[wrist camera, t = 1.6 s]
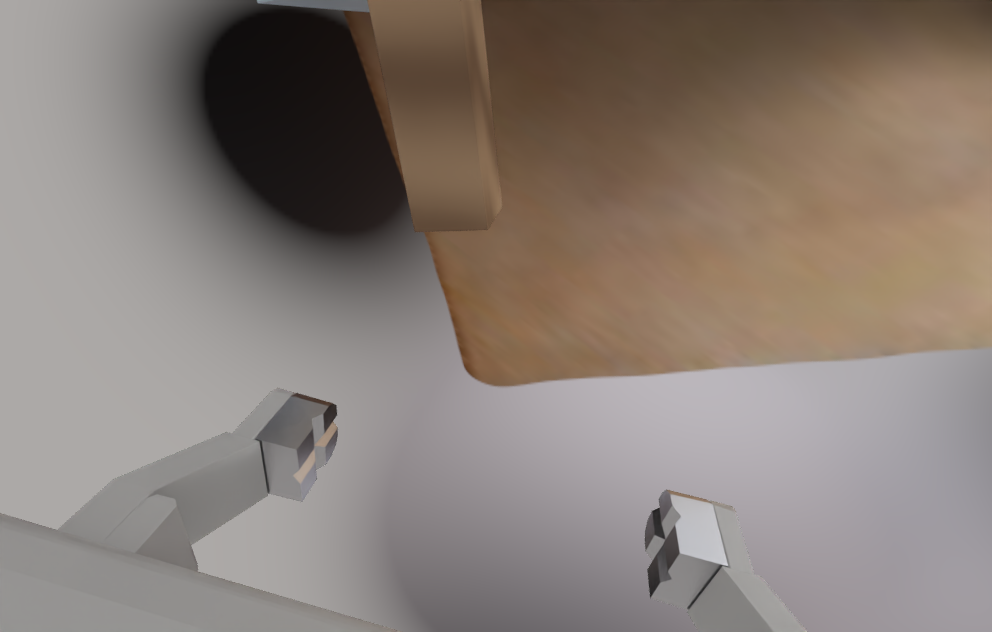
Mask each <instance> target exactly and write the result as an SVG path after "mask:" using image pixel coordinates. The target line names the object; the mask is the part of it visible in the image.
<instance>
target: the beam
mask: <svg viewBox="0 0 992 632" xmlns="http://www.w3.org/2000/svg"><path fill="white" fill-rule="evenodd" d="M367 2H368V7H369V11H370V16H371V21H372V26H373V31H374V36H375V41H376V46H377V50H378V55H379V60H380V65H381V70H382V75H383V80H384V85H385V89H386V94H387V99H388V104H389V109H390V114H391V119H392V123H393V128H394V133H395V138H396V143H397V148H398V153H399V158H400V162H401V167H402V172H403V177H404V182H405V187H406V192H407V197H408V201H409V206H410V211H411V216H412V221H413V226H414V231H415V232H435V231H468V230H488V229H489V227H490V226H491V224H492V222H493V221H494V219H495V218H496V216H497V215H498V213H499V211H500V210H501V208H502V198H501V188H500V179H499V169H498V160H497V150H496V140H495V131H494V121H493V112H492V102H491V92H490V83H489V73H488V64H487V54H486V44H485V35H484V25H483V16H482V6H481V0H367Z"/></svg>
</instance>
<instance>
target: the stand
mask: <svg viewBox="0 0 992 632" xmlns="http://www.w3.org/2000/svg"><path fill="white" fill-rule="evenodd" d="M257 2H258V3H261V4H274V5H286V6H298V7H310V8H323V9H335V10H347V11H359V12H370V11H369V7H368V2H367V0H257Z"/></svg>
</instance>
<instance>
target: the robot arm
mask: <svg viewBox="0 0 992 632" xmlns="http://www.w3.org/2000/svg"><path fill="white" fill-rule="evenodd" d="M336 416H337V406H336V405H335V404H333V403H330V402H326V401H323V400H319V399H316V398H312V397H309V396H306V395H302V394H298V393H294V392H291V391H287V390H284V389H280V388H277V389H275V390H273V391H271V392H270V393H269V394H268V395H267V396H266V397H265V398H264V400H263V401H262V402H261V403H260V404H259V405H258V406H257V407H256V408H255V409H254V410H253V411H252V412H251V414H250V415H249V416H248V417H247V418H246V419H245V420H244V421H243V422H242V423H241V424H240V425H239V426H238V428H237V429H236V430H235V431H234V432H233V433H228V432H225V433H223V434H221V435H218V436H216V437H213V438H211V439H209V440H207V441H204V442H201V443H199V444H197V445H194V446H192V447H189V448H187V449H185V450H182V451H180V452H177V453H175V454H173V455H170V456H168V457H165V458H163V459H161V460H158V461H156V462H153V463H151V464H149V465H146V466H144V467H141V468H140V469H137V470H135V471H132V472H129V473H127V474H125V475H122V476H120V477H117V478H115V479H113V480H112V481H111V482H110V483H108V484H107V485H106V486H105V487H104V488H103V489H102V490H101V491H100V492H98V493H97V495H95V496H94V497H93V498H92V499H91V500H90V501H89V502H88V503H86V504H85V505H84V506H83V507H82V508H81V509H80V510H79V511H78V512H76V513H75V514H74V515H73V516H72V517H71V518H70V519H69V520H68V521H67V522H65V523H64V524H63V525H62V526H61V527H60V528H59V529H58V530H55V529H52V528H49V527H45V526H42V525H38V524H35V523H32V522H28V521H25V520H22V519H18V518H15V517H11V516H8V515H5V514H1V513H0V632H401V631H398V630H395V629H391V628H388V627H384V626H381V625H377V624H374V623H371V622H367V621H363V620H361V619H357V618H354V617H350V616H347V615H343V614H340V613H337V612H334V611H330V610H326V609H323V608H320V607H316V606H313V605H310V604H306V603H303V602H300V601H296V600H293V599H289V598H286V597H282V596H279V595H276V594H272V593H269V592H266V591H262V590H259V589H255V588H252V587H249V586H245V585H242V584H239V583H235V582H231V581H228V580H225V579H222V578H218V577H214V576H211V575H208V574H205V573H201V572H198V565H197V561H196V558H195V556H194V553H193V550H192V547H191V545H192V544H194V543H195V542H197V541H198V540H200V539H202V538H203V537H205V536H206V535H208V534H209V533H211V532H212V531H214V530H216V529H217V528H219V527H220V526H222V525H223V524H225V523H226V522H228V521H229V520H231V519H233V518H234V517H236V516H237V515H238V514H240V513H242V512H243V511H245V510H246V509H248V508H249V507H251V506H253V505H254V504H256V503H257V502H259V501H260V500H262V499H263V498H265V497H267V496H268V493H269V494H273V495H277V496H281V497H285V498H289V499H293V500H297V501H301V502H302V501H303V500H304V498H305V497H306V495H307V494H308V492H309V490H310V489H311V487H312V486H313V484H314V482H315V481H316V479H317V476H316V470H317V469H319V468H320V467H322V466H324V465H326V464H327V462H328V460H329V459H330V457H331V456H332V453H333V451H334V448H335V446H336V442H337V437H338V428H337V426H336V425H335V424H334V422H333V420H334V419H335V418H336ZM659 506H660V508H658V509H655V510H653V511H652V512H651V514H650V516H649V518H648V521H647V525H646V530H645V549H646V552H647V554H648V555H649V557H650V558H651V560H652V563H651V564H650V566H649V568H648V569H647V572H648V582H649V592H650V599H653V600H656V601H660V602H663V603H666V604H669V605H673V606H676V607H679V608H682V609H686V610H688V612H687V613H688V614H689V616H690V618H691V620H692V621H693V623H694V625H695V627H696V628H697V630H698V632H808V631H807V630H806V629H805V628H804V627H803V625H802V624H801V623H800V622H799V621H798V620H797V618H796V617H795V616H794V615H793V614H792V612H791V611H790V610H789V609H788V608H787V606H786V605H785V604H784V603H783V602H782V601H781V600H780V598H779V597H778V596H777V595H776V593H775V592H774V591H773V590H772V589H771V587H770V586H769V585H768V584H767V583H766V582H765V581H764V579H763V578H762V577H761V576H758V575H755V574H754V571H753V568H752V564H751V561H750V558H749V555H748V551H747V548H746V544H745V541H744V538H743V534H742V531H741V528H740V525H739V521H738V518H737V514H736V511H735V509H734V508H733V507H732V506H728V505H725V504H721V503H717V502H713V501H708V500H706V499H702V498H698V497H694V496H690V495H686V494H682V493H678V492H674V491H670V490H665V491H664V492H662V494H661V496H660V498H659Z"/></svg>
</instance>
